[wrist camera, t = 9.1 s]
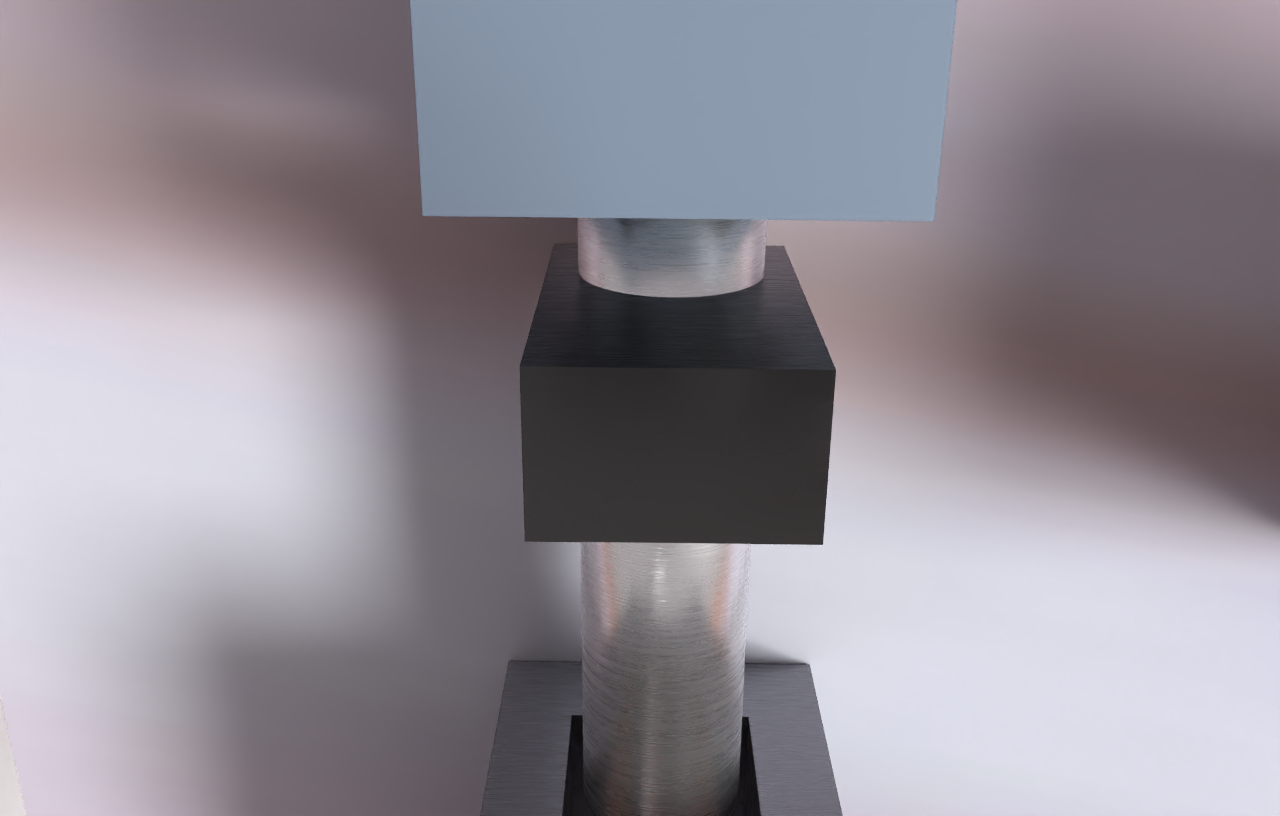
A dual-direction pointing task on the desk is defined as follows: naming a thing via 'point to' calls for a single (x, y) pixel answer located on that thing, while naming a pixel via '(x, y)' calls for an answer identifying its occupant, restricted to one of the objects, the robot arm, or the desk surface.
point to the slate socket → (682, 108)
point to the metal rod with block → (671, 482)
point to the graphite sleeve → (553, 744)
